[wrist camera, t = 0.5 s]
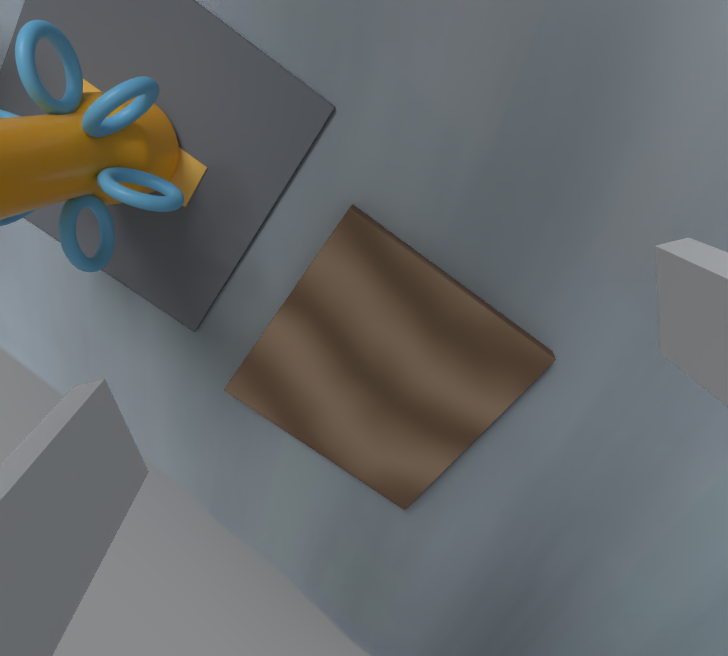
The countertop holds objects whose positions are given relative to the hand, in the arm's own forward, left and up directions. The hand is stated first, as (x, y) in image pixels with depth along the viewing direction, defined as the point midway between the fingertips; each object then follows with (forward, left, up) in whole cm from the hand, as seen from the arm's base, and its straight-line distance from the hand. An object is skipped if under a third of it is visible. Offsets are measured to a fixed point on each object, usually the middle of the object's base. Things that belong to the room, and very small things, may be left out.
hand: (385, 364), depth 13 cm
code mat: (+8, -16, -22) cm, 29 cm away
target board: (+11, +5, -22) cm, 25 cm away
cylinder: (+8, -16, -22) cm, 29 cm away
